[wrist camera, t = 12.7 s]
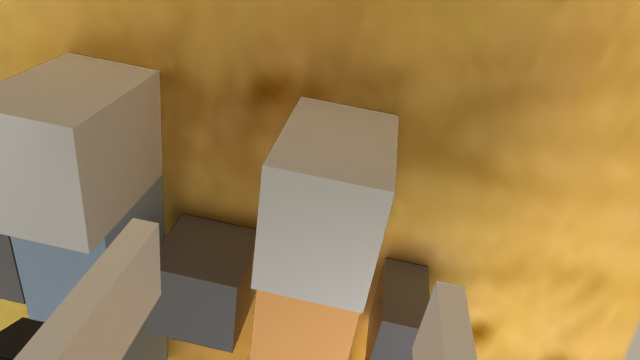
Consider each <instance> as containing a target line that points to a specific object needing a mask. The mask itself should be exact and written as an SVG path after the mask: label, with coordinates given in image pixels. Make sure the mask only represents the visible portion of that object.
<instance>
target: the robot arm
mask: <svg viewBox="0 0 640 360" xmlns="http://www.w3.org/2000/svg"><path fill="white" fill-rule="evenodd" d="M160 295H161V273H160V243H159V223H155V222H150V221H145V220H140V219H136V218H132V220H131V221H130V222H129V223H128V224H127V225H126V227H125V228H124V229H123V230H122V231H121V233H120V234H119V235H118V236H117V237H116V238H115V240H114V241H113V242H112V243H111V244H110V246H109V247H108V248H107V249H106V250H105V252H104V253H103V254H102V255H101V256H100V257H99V259H98V260H97V261H96V262H95V263H94V265H93V266H92V267H91V268H90V269H89V270H88V272H87V273H86V274H85V275H84V276H83V278H82V279H81V280H80V281H79V282H78V284H77V285H76V286H75V287H74V288H73V289H72V291H71V292H70V293H69V294H68V295H67V297H66V298H65V299H64V300H63V301H62V302H61V304H60V305H59V306H58V307H57V308H56V310H55V311H54V312H53V313H52V314H51V316H50V317H49V318H48V319H47V320H46V321H45V322H42V321H37V320H33V319H28V318H24V317H23V318H21V319H19V320H18V321H16V322H15V323H13V324H11V325H10V326H8V327H7V328H5V329H3V330H2V331H0V360H122V358H123V356H124V355H125V353H126V351H127V350H128V348H129V346H130V345H131V343H132V342H133V340H134V338H135V337H136V335H137V333H138V332H139V330H140V328H141V327H142V325H143V323H144V322H145V320H146V318H147V317H148V315H149V313H150V312H151V310H152V309H153V307H154V305H155V304H156V302H157V300H158V299H159V297H160ZM412 355H413V360H477V356H476V351H475V345H474V339H473V334H472V328H471V322H470V317H469V311H468V305H467V300H466V294H465V288H464V286H461V285H456V284H452V283H447V282H442V281H437V280H436V283H435V286H434V289H433V291H432V294H431V297H430V300H429V303H428V305H427V308H426V311H425V314H424V316H423V319H422V322H421V325H420V327H419V330H418V333H417V336H416V339H415V341H414V344H413V347H412Z"/></svg>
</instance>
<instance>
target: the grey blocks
mask: <svg viewBox="0 0 640 360" xmlns="http://www.w3.org/2000/svg"><path fill="white" fill-rule="evenodd" d="M255 239H256V229H251V228H246V227H242V226H237V225H233V224H228V223H223V222H219V221H214V220H210V219H205V218H200V217H196V216H191V215H187V214H182V216H181V217H180V218H179V220H178V221H177V222H176V224H175V225H174V227H173V228H172V229H171V231H170V232H169V233H168V235H167V236H166V237H165V239H164V240H163V242H162V243H161V244H160V273H161V295H160V297H159V299H158V300H157V302H156V304H155V305H154V307H153V309H152V310H151V312H150V313H149V315H148V317H147V328H148V333H150V334H154V335H158V336H163V337H167V338H171V339H175V340H180V341H184V342H188V343H192V344H197V345H201V346H205V347H209V348H214V349H218V350H222V351H226V352H231V353H233V350H234V347H235V345H236V342H237V340H238V337H239V335H240V332H241V330H242V327H243V325H244V322H245V319H246V317H247V314H248V312H249V309H250V307H251V304H252V302H253V299H254V297H255V294H256V290H255V289H251V282H252V271H253V260H254V250H255ZM0 298H1V299H5V300H9V301H14V302H18V303H22V304H25V303H26V301H25V297H24V293H23V289H22V285H21V280H20V276H19V272H18V268H17V263H16V259H15V255H14V251H13V246H12V242H11V238H10V236H7V235H3V234H0ZM429 300H430V296H429V278H428V267H426V266H421V265H416V264H412V263H407V262H403V261H398V260H393V259H389V258H386V259H385V263H384V267H383V270H382V274H381V277H380V281H379V284H378V288H377V292H376V295H375V299H374V302H373V306H372V309H371V313H370V317H369V326H368V336H367V347H366V357H365V360H413V355H412V347H413V344H414V341H415V339H416V336H417V333H418V330H419V327H420V325H421V322H422V319H423V316H424V314H425V311H426V308H427V305H428V303H429Z"/></svg>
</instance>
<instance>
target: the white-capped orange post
mask: <svg viewBox="0 0 640 360" xmlns="http://www.w3.org/2000/svg"><path fill="white" fill-rule="evenodd" d="M398 124H399V115H394V114H389V113H383V112H378V111H373V110H368V109H363V108H358V107H353V106H348V105H343V104H338V103H332V102H327V101H322V100H317V99H312V98H307V97H302V96H301V97H300V99H299V101H298V103H297V105H296V106H295V108H294V110H293V112H292V113H291V115H290V117H289V119H288V121H287V122H286V124H285V126H284V128H283V129H282V131H281V133H280V135H279V137H278V138H277V140H276V142H275V144H274V145H273V147H272V149H271V151H270V153H269V154H268V156H267V158H266V160H265V161H264V163H263V165H262V174H261V185H260V196H259V207H258V217H257V228H256V239H255V250H254V260H253V271H252V282H251V289H255V290H256V300H255V309H254V319H253V329H252V339H251V349H250V359H249V360H348V358H349V354H350V350H351V347H352V343H353V339H354V335H355V331H356V327H357V324H358V320H359V316H360V313H362V314H363V312H364V309H365V305H366V301H367V297H368V294H369V290H370V286H371V282H372V278H373V275H374V271H375V267H376V263H377V260H378V256H379V252H380V248H381V245H382V241H383V237H384V233H385V230H386V226H387V222H388V218H389V215H390V211H391V207H392V203H393V200H394V196H395V189H396V167H397V145H398Z"/></svg>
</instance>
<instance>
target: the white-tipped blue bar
mask: <svg viewBox="0 0 640 360" xmlns="http://www.w3.org/2000/svg"><path fill="white" fill-rule="evenodd" d="M132 218H136V219H140V220H145V221H150V222H155V223H159V243H160V244H161V243H162V242H163V240H164V206H163V170H162V134H161V98H160V70H155V69H150V68H145V67H140V66H135V65H129V64H124V63H119V62H114V61H109V60H104V59H99V58H94V57H89V56H84V55H79V54H74V53H69V52H68V53H66V54H63V55H61V56H59V57H56V58H54V59H52V60H50V61H47V62H45V63H43V64H40V65H38V66H36V67H33V68H31V69H29V70H26V71H24V72H22V73H19V74H17V75H15V76H13V77H10V78H8V79H6V80H3V81H1V82H0V234H3V235H7V236H10V238H11V242H12V246H13V251H14V255H15V259H16V263H17V268H18V272H19V276H20V280H21V285H22V289H23V293H24V297H25V301H26V306H27V310H28V314H29V318H30V319H33V320H37V321H42V322H45V321H46V320H47V319H48V318H49V317H50V316H51V314H52V313H53V312H54V311H55V310H56V308H57V307H58V306H59V305H60V304H61V302H62V301H63V300H64V299H65V298H66V297H67V295H68V294H69V293H70V292H71V291H72V289H73V288H74V287H75V286H76V285H77V284H78V282H79V281H80V280H81V279H82V278H83V276H84V275H85V274H86V273H87V272H88V270H89V269H90V268H91V267H92V266H93V265H94V263H95V262H96V261H97V260H98V259H99V257H100V256H101V255H102V254H103V253H104V252H105V250H106V249H107V248H108V247H109V246H110V244H111V243H112V242H113V241H114V240H115V238H116V237H117V236H118V235H119V234H120V233H121V231H122V230H123V229H124V228H125V227H126V225H127V224H128V223H129V222H130V221H131V220H132ZM167 358H168V350H167V337H163V336H158V335H154V334H150V333H148V328H147V318H146V320H145V322H144V323H143V325H142V327H141V328H140V330H139V332H138V333H137V335H136V337H135V338H134V340H133V342H132V343H131V345H130V346H129V348H128V350H127V351H126V353H125V355H124V356H123V358H122V360H167Z"/></svg>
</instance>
